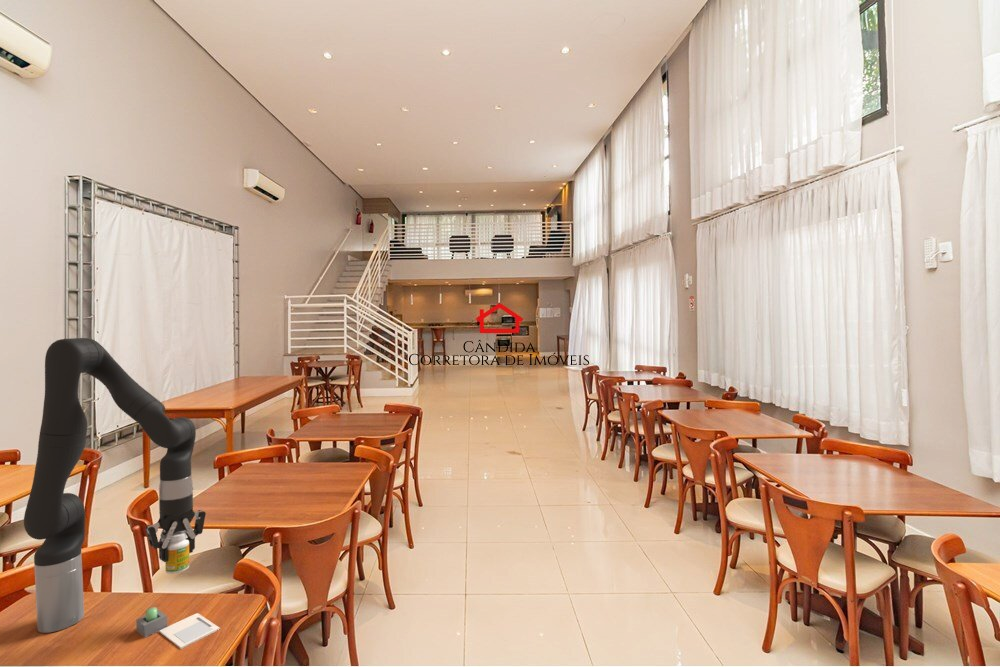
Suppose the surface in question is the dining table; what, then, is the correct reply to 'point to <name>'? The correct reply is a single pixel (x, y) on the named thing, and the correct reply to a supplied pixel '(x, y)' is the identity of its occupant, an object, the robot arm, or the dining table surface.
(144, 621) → the button housing
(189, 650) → the dining table surface
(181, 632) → the white flat block
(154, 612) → the button
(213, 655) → the dining table surface
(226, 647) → the dining table surface
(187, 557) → the supplement bottle
